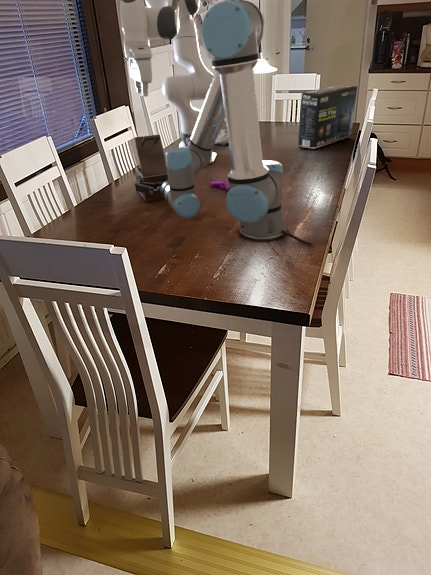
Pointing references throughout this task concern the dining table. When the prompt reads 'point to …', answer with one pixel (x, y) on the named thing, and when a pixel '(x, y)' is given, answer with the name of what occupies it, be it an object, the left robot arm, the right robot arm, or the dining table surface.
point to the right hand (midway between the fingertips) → (158, 176)
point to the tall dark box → (150, 155)
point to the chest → (152, 180)
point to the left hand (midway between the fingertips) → (142, 94)
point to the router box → (326, 115)
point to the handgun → (221, 184)
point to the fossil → (222, 137)
